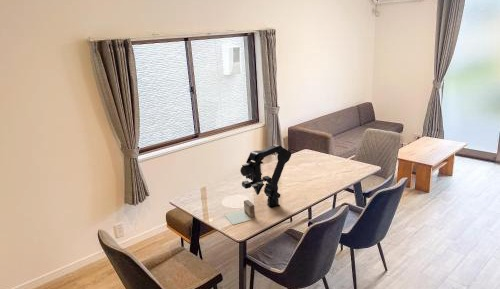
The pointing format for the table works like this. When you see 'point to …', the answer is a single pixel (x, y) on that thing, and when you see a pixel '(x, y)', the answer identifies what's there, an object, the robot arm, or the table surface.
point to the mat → (237, 217)
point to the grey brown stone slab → (249, 208)
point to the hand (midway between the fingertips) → (257, 194)
